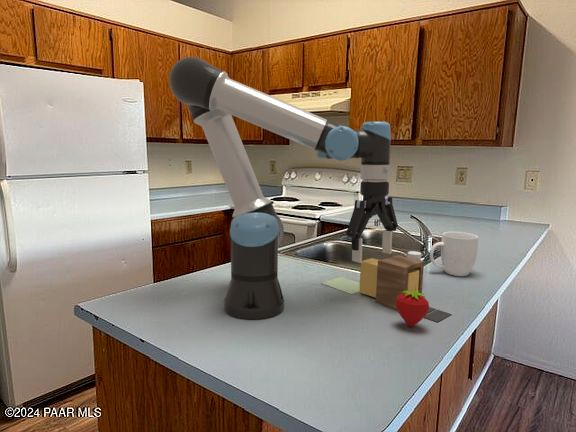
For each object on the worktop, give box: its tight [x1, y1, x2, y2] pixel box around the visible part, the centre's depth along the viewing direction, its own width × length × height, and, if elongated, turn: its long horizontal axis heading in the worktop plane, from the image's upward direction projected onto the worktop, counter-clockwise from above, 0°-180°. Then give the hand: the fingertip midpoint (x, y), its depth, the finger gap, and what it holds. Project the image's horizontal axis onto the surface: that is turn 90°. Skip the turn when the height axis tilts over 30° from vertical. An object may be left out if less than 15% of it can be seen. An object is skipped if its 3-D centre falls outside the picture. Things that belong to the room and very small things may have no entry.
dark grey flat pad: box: [423, 306, 452, 323], centre depth 99 cm, size 7×8×1 cm
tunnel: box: [375, 254, 425, 311], centre depth 105 cm, size 9×8×12 cm
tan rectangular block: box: [358, 257, 419, 299], centre depth 108 cm, size 5×15×9 cm, turn 42°
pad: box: [320, 276, 360, 295], centre depth 119 cm, size 9×12×1 cm
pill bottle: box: [406, 250, 423, 261], centre depth 121 cm, size 6×5×10 cm
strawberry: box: [395, 284, 430, 328], centre depth 91 cm, size 6×8×10 cm
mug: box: [429, 231, 479, 277], centre depth 131 cm, size 15×11×13 cm
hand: (372, 257), depth 111 cm, fingers open, 13 cm apart
